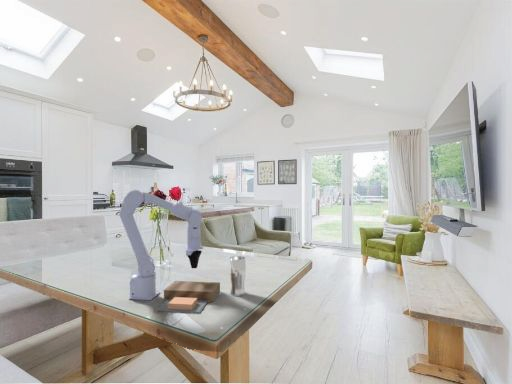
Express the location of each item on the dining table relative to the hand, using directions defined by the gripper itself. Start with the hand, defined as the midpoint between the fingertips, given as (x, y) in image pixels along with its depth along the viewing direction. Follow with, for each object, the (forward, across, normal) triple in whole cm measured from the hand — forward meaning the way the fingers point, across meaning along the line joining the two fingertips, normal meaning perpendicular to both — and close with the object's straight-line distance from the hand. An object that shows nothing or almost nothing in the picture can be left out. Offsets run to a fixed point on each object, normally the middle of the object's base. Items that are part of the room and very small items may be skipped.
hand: (194, 267), depth 122 cm
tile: (+7, -19, -2) cm, 20 cm away
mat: (+9, -18, -2) cm, 20 cm away
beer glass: (+10, -3, -20) cm, 22 cm away
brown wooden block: (+9, -8, -2) cm, 12 cm away
